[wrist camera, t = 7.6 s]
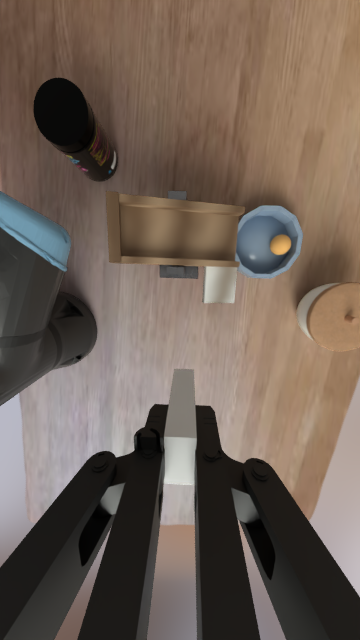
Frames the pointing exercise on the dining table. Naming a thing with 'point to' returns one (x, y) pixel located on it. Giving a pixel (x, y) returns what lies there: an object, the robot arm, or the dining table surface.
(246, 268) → the bowl
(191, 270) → the pivot stand
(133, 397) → the dining table surface
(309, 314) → the lidded jar
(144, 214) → the lever
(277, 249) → the ball
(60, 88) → the supplement container
